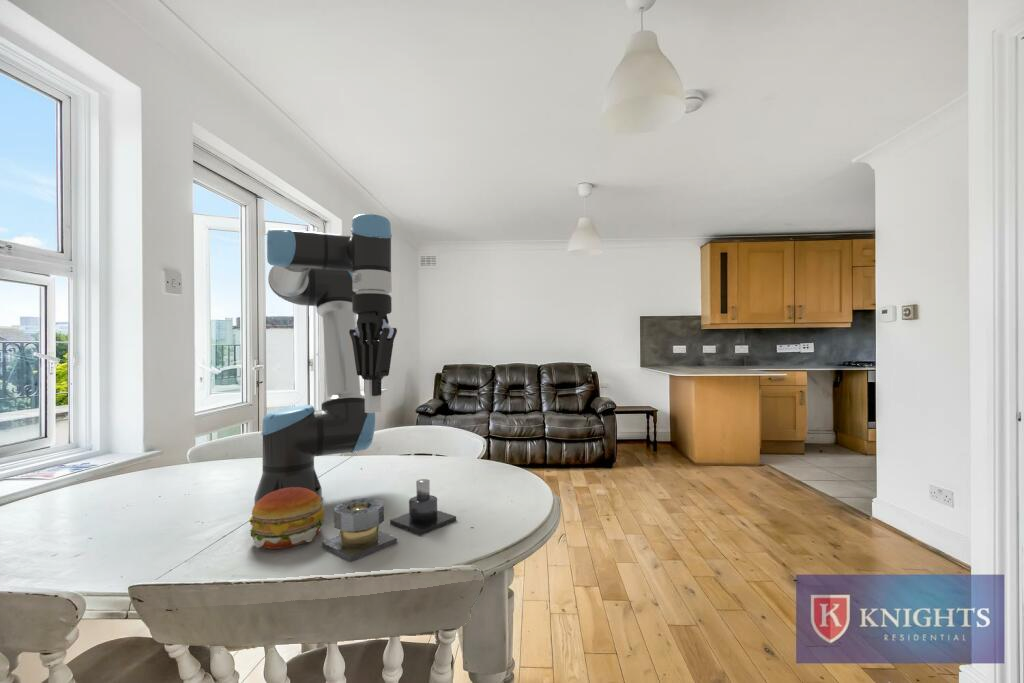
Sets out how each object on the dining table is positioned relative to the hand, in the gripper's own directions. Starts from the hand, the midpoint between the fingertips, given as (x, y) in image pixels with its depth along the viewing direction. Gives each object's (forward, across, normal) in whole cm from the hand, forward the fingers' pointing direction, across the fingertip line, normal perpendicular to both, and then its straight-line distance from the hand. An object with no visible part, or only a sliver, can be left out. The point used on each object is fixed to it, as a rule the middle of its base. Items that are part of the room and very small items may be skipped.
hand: (372, 411), depth 92 cm
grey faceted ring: (+21, 0, -4) cm, 21 cm away
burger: (+26, -14, -10) cm, 31 cm away
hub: (+25, 0, -4) cm, 25 cm away
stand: (+25, +2, +12) cm, 28 cm away
